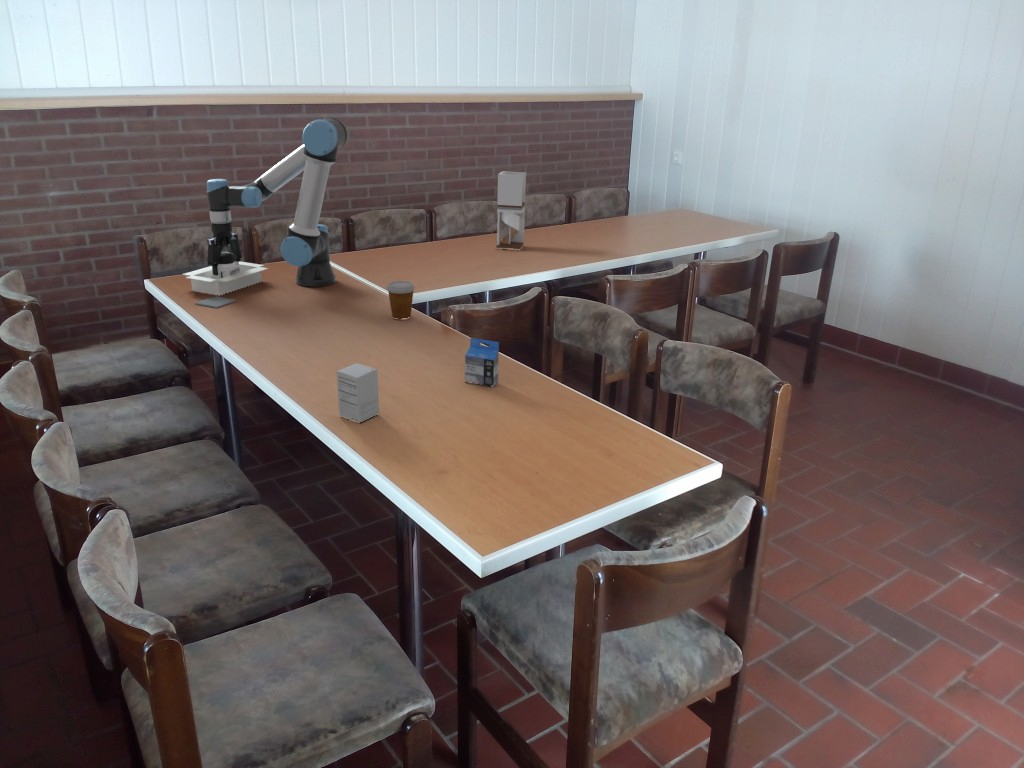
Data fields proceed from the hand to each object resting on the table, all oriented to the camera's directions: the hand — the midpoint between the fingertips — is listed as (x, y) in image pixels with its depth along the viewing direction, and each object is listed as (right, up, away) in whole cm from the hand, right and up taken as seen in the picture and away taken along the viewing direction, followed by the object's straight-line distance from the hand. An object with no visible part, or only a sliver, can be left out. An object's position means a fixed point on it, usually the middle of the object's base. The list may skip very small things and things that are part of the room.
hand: (227, 280), depth 315 cm
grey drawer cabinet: (+71, -48, -108) cm, 138 cm away
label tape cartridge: (+101, -40, -84) cm, 138 cm away
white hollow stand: (+109, +25, +77) cm, 136 cm away
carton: (0, -2, +1) cm, 2 cm away
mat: (+3, -11, -20) cm, 23 cm away
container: (0, -2, +1) cm, 3 cm away
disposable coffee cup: (+71, -17, -30) cm, 79 cm away
